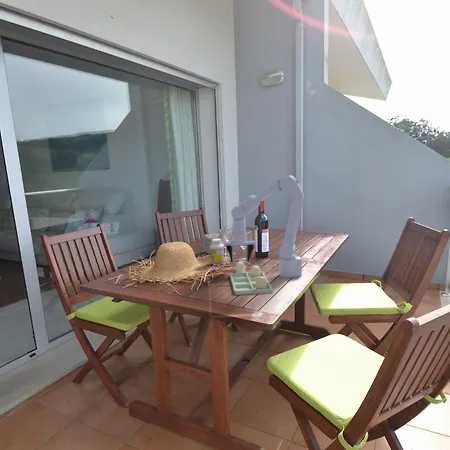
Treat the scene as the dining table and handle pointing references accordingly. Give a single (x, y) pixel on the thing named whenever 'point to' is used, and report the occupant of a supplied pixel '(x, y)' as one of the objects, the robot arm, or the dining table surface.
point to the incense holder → (209, 241)
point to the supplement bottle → (216, 252)
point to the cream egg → (240, 267)
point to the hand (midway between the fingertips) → (240, 261)
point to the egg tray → (247, 284)
